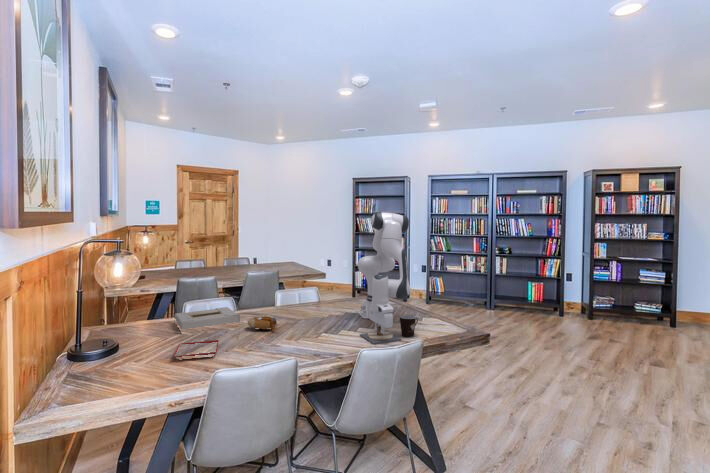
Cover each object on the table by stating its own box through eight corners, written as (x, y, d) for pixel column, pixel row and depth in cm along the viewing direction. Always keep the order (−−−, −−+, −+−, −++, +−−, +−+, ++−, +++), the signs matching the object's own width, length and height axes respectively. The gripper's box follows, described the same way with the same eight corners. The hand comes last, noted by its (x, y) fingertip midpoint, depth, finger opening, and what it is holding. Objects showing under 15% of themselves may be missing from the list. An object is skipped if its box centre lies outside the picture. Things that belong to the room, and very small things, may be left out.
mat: (359, 335, 207) (359, 334, 207) (386, 332, 214) (386, 330, 214) (373, 344, 193) (373, 343, 193) (401, 340, 199) (401, 339, 199)
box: (181, 335, 209) (240, 325, 227) (180, 321, 209) (240, 312, 227) (173, 326, 229) (228, 318, 247) (173, 313, 228) (228, 305, 246)
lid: (363, 334, 206) (363, 325, 206) (385, 331, 212) (385, 322, 211) (374, 341, 194) (374, 331, 194) (397, 338, 200) (397, 328, 200)
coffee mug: (403, 338, 202) (403, 319, 202) (397, 333, 211) (397, 315, 210) (423, 336, 205) (423, 317, 205) (416, 332, 214) (417, 314, 213)
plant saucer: (172, 363, 169) (172, 355, 169) (179, 349, 186) (179, 342, 186) (217, 359, 174) (217, 351, 174) (219, 346, 191) (219, 339, 191)
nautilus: (287, 332, 215) (262, 339, 205) (267, 322, 231) (244, 328, 221) (286, 318, 214) (262, 325, 204) (267, 309, 230) (243, 314, 220)
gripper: (366, 302, 211) (366, 327, 211) (384, 310, 192) (383, 338, 192) (376, 301, 213) (376, 326, 214) (395, 309, 194) (395, 336, 195)
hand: (380, 332), depth 203 cm, fingers closed on lid, 3 cm apart
